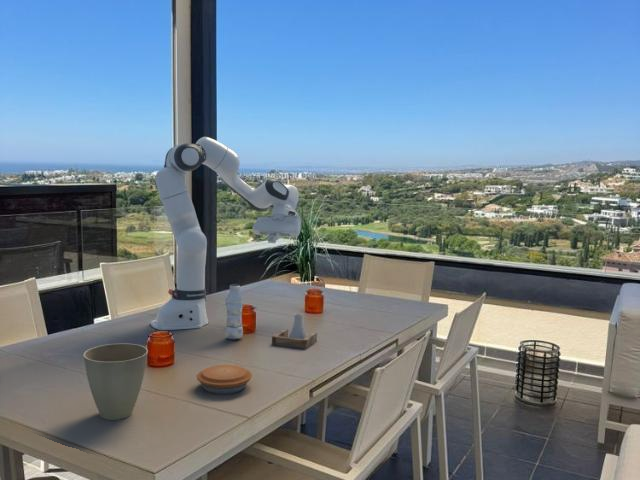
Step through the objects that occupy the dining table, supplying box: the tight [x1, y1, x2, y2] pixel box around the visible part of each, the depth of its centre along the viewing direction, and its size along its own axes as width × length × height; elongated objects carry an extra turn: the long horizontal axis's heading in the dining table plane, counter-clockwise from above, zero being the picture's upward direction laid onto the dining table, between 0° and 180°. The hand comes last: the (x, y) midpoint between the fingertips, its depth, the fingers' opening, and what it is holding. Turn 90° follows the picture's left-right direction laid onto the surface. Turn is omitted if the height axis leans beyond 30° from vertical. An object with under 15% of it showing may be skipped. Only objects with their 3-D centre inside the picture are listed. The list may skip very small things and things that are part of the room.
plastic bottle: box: [224, 284, 244, 340], centre depth 213 cm, size 6×7×20 cm
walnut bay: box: [271, 328, 318, 350], centre depth 211 cm, size 12×13×3 cm
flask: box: [288, 313, 307, 339], centre depth 213 cm, size 7×7×10 cm
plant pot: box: [83, 342, 149, 421], centre depth 143 cm, size 15×15×16 cm
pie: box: [196, 364, 253, 395], centre depth 164 cm, size 15×16×5 cm
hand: (271, 242), depth 237 cm, fingers closed
